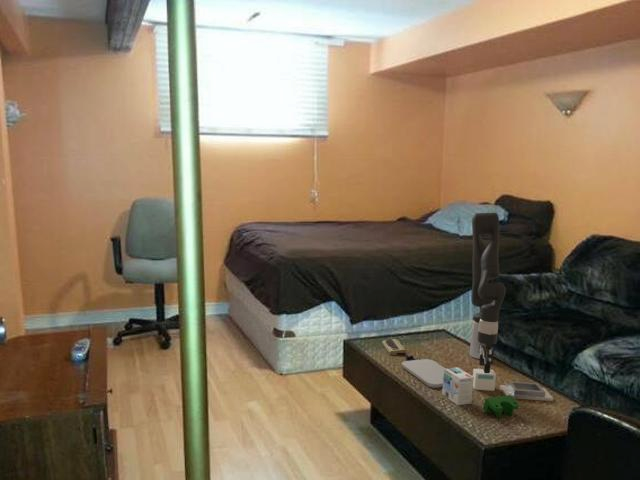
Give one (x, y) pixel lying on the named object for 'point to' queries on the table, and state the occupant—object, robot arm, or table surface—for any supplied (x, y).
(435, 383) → the tablet
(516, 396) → the grey flat block
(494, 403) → the clamp
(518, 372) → the table surface
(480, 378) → the block
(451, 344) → the table surface
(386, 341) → the computer
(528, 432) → the table surface
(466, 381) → the light bulb box
